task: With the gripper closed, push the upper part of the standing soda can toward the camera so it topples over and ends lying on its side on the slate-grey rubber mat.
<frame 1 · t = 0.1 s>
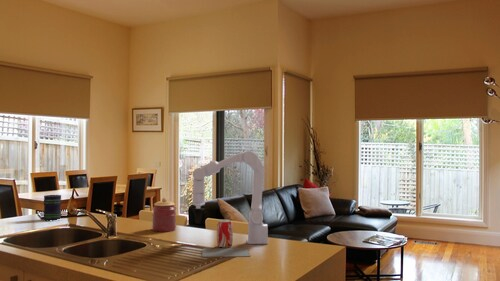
hand: (198, 221, 200), 10 cm above the counter, fingers open, 7 cm apart
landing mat: (225, 252, 181), on the counter
soda can: (224, 247, 193), on the counter
canister: (164, 230, 231), on the counter
storage jar: (52, 220, 260), on the counter
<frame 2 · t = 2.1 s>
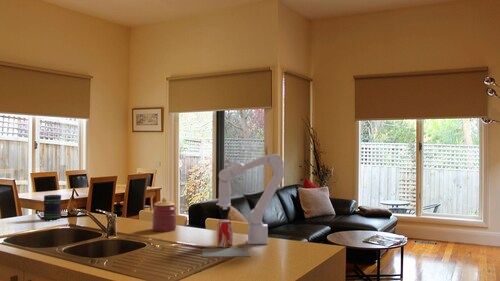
hand: (224, 222, 202), 9 cm above the counter, fingers closed
nothing on the counter moved.
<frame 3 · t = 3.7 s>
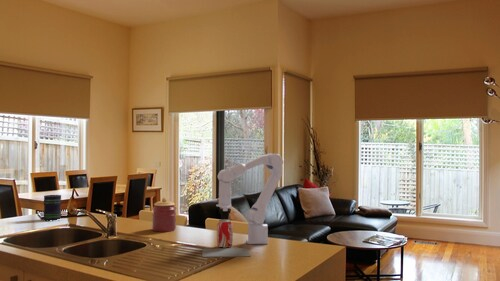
hand: (224, 224, 197), 9 cm above the counter, fingers closed
soda can: (224, 247, 193), on the counter, touching gripper
everything else where it was.
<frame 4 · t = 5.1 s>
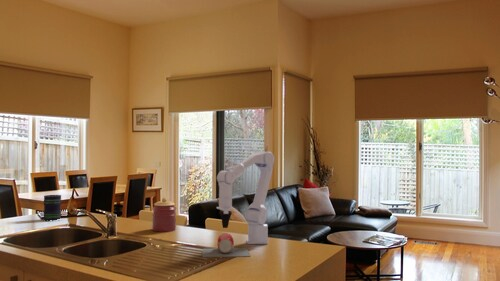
hand: (225, 227, 189), 9 cm above the counter, fingers closed
soda can: (225, 239, 190), point 4 cm above the counter, touching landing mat
everything else where it was.
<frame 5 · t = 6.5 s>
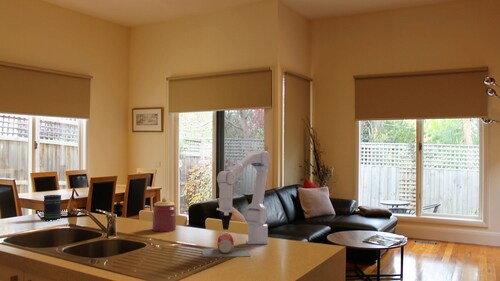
hand: (225, 229, 185), 9 cm above the counter, fingers closed
nothing on the counter moved.
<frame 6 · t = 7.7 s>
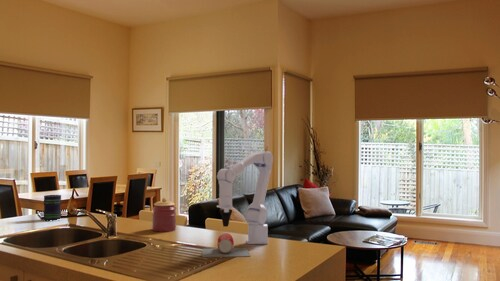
hand: (225, 226, 187), 10 cm above the counter, fingers closed
nothing on the counter moved.
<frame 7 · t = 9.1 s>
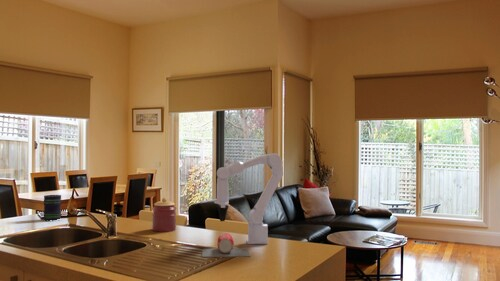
hand: (222, 220, 201), 10 cm above the counter, fingers closed
nothing on the counter moved.
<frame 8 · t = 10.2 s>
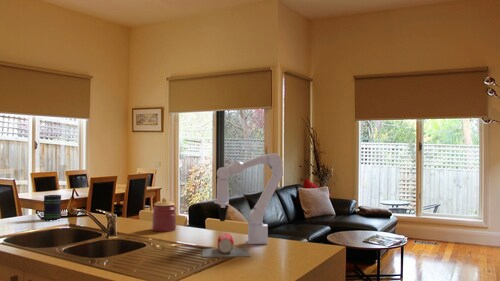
hand: (222, 220, 201), 10 cm above the counter, fingers closed
nothing on the counter moved.
at the end: soda can tilted 90°; soda can touching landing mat; soda can inside the target area (6.9 cm from its centre), point 3.8 cm above the counter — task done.
